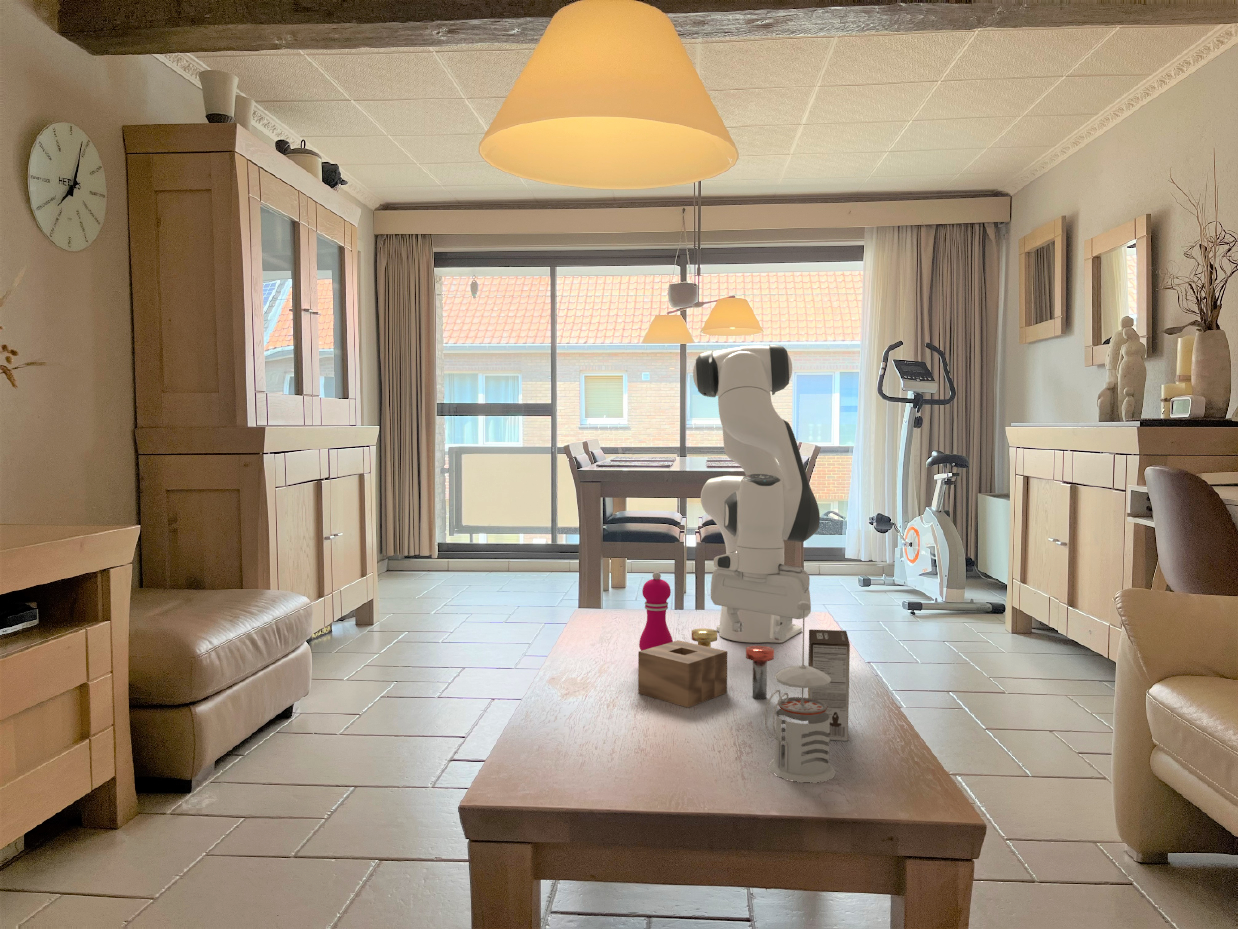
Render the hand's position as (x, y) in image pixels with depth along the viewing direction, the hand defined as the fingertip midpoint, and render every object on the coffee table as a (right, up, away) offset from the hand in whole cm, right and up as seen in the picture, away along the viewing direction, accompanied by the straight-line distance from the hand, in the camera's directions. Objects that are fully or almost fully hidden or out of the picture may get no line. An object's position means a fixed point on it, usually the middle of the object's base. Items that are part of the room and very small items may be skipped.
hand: (758, 635), depth 156 cm
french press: (0, -13, -33) cm, 36 cm away
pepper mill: (-18, -11, +22) cm, 31 cm away
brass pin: (-9, -11, +15) cm, 20 cm away
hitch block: (-14, -12, +3) cm, 18 cm away
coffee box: (+9, -13, -17) cm, 23 cm away
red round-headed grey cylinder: (0, -12, +1) cm, 12 cm away
